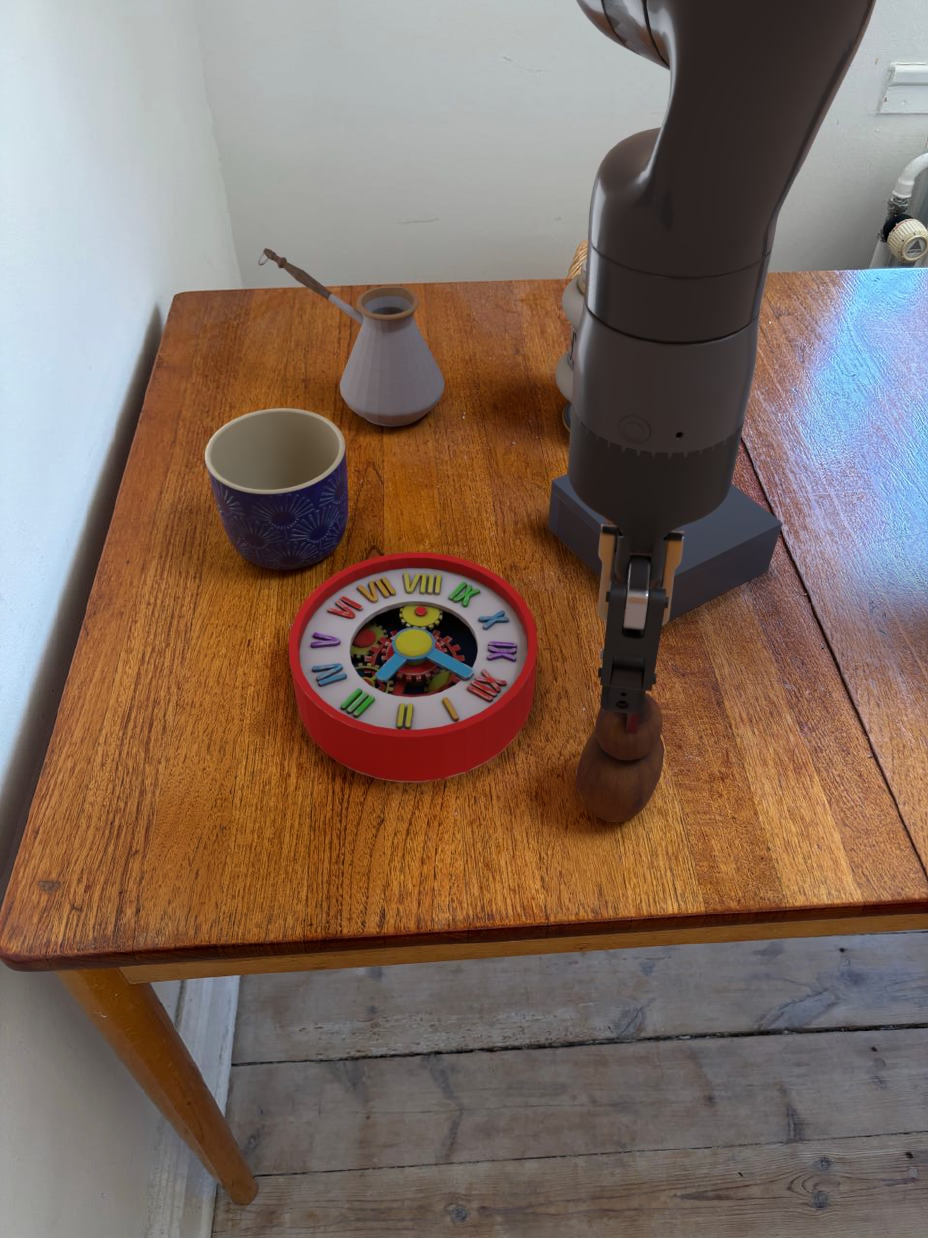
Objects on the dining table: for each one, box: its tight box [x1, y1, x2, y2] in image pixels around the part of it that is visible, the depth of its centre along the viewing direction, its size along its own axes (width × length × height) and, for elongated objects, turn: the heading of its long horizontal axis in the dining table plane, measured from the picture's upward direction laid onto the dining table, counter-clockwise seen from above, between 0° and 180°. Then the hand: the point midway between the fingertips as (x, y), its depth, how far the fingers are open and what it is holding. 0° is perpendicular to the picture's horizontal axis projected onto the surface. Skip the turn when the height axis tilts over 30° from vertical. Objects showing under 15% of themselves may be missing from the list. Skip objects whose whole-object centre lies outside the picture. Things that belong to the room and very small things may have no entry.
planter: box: [204, 407, 349, 571], centre depth 94 cm, size 12×12×11 cm
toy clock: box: [287, 551, 539, 783], centre depth 83 cm, size 20×6×20 cm
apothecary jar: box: [554, 257, 587, 433], centre depth 105 cm, size 12×12×18 cm
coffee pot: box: [257, 248, 446, 428], centre depth 109 cm, size 21×12×15 cm, turn 62°
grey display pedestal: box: [547, 473, 783, 623], centre depth 95 cm, size 14×16×6 cm
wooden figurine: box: [574, 693, 665, 823], centre depth 72 cm, size 7×6×15 cm
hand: (626, 647), depth 55 cm, fingers open, 8 cm apart
